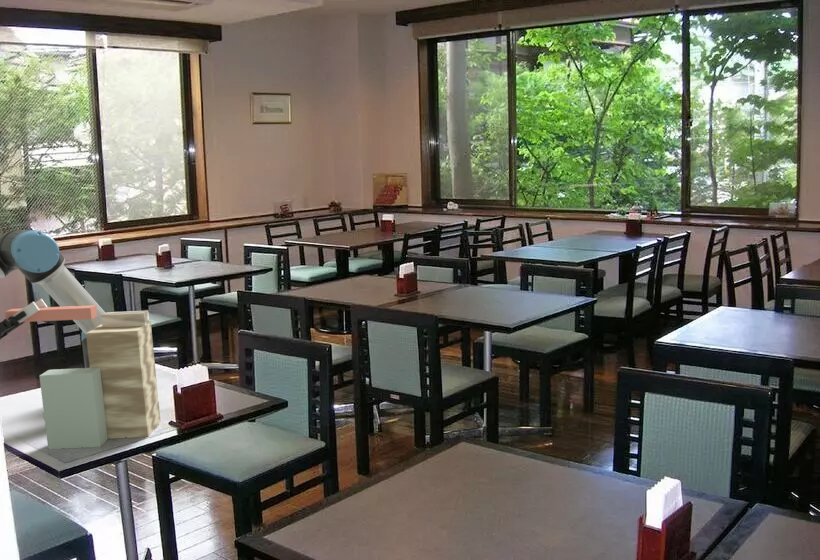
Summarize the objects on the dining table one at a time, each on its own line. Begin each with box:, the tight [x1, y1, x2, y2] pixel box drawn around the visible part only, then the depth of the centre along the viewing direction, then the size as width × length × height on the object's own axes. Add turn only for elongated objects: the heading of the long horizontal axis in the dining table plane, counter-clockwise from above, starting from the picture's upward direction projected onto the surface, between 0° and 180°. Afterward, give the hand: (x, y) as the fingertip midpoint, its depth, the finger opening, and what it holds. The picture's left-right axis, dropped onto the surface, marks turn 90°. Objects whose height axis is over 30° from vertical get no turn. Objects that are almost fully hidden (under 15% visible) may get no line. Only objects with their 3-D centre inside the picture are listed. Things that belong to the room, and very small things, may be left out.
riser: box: [39, 367, 109, 450], centre depth 229 cm, size 6×14×20 cm, turn 90°
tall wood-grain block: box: [86, 309, 162, 439], centre depth 237 cm, size 12×14×34 cm
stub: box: [4, 305, 97, 323], centre depth 227 cm, size 4×23×3 cm, turn 89°
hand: (40, 304), depth 227 cm, fingers closed on stub, 4 cm apart
